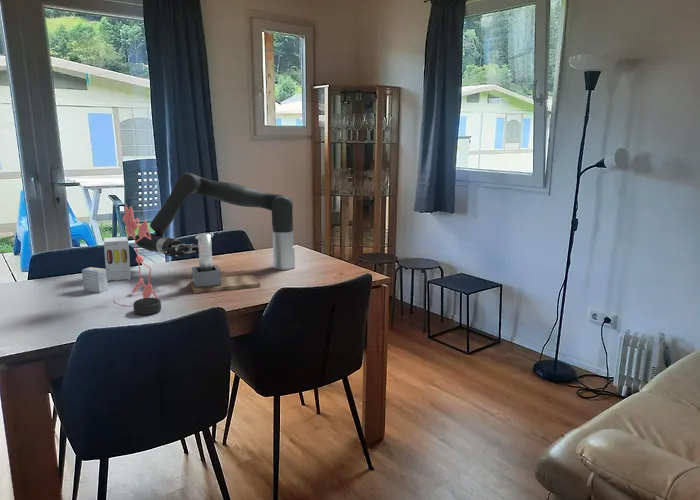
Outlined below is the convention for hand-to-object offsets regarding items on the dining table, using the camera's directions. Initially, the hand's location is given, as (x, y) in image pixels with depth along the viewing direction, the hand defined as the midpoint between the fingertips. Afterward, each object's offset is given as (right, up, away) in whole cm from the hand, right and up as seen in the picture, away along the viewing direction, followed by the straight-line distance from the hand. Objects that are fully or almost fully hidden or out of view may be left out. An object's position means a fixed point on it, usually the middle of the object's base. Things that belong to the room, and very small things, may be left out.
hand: (193, 252), depth 214 cm
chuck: (+6, -12, -2) cm, 14 cm away
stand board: (+13, -13, +1) cm, 18 cm away
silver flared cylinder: (+6, -12, -2) cm, 14 cm away
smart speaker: (-7, -21, -31) cm, 38 cm away
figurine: (-17, -17, -17) cm, 30 cm away
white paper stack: (-36, -15, -8) cm, 39 cm away
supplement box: (-35, -11, +10) cm, 38 cm away
